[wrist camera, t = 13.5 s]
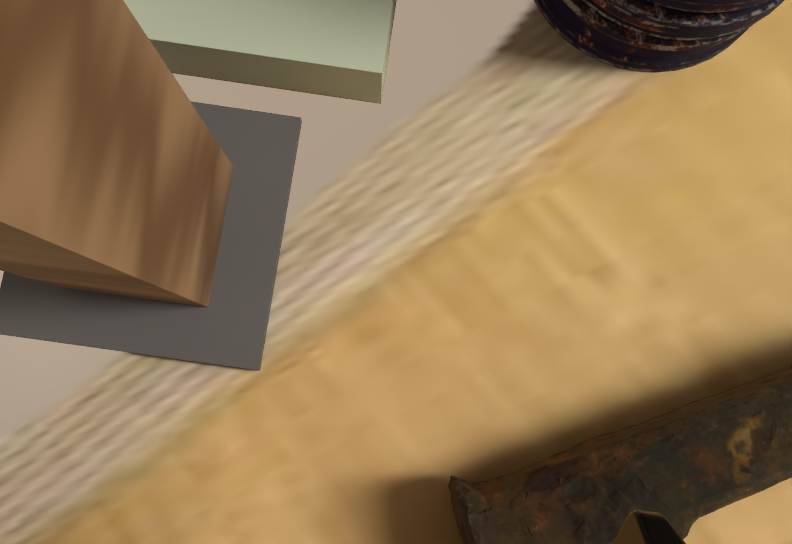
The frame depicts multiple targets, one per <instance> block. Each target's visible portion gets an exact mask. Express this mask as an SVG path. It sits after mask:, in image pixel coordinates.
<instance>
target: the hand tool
mask: <svg viewBox="0 0 792 544" xmlns="http://www.w3.org/2000/svg"><path fill="white" fill-rule="evenodd" d="M789 478H792V368H789V369H786V370H784V371H781V372H778V373H775V374H772V375H770V376H767V377H764V378H761V379H758V380H756V381H752V382H749V383H746V384H743V385H740V386H738V387H735V388H733V389H730V390H727V391H725V392H722V393H719V394H717V395H714V396H711V397H707V398H704V399H701V400H698V401H695V402H692V403H690V404H687V405H685V406H683V407H681V408H679V409H676V410H674V411H672V412H671V413H669V414H666V415H663V416H660V417H657V418H655V419H652V420H649V421H647V422H644V423H642V424H640V425H636V426H630V427H625V428H622V429H621V430H619V431H616V432H612V433H609V434H605V435H601V436H599V437H596V438H593V439H590V440H588V441H585V442H582V443H580V444H578V445H577V446H575V447H573V448H572V449H570V450H567V451H564V452H561V453H558V454H555V455H554V456H552V457H551V458H549V459H548V460H546V461H543V462H540V463H538V464H535V465H532V466H529V467H527V468H524V469H522V470H520V471H517V472H514V473H511V474H508V475H505V476H502V477H499V478H496V479H493V480H491V481H488V482H475V483H469V482H466V481H464V480H462V479H459V478H457V477H454V476H451V478H450V482H449V485H448V487H449V489H450V492H451V499H452V504H453V510H454V514H455V518H456V522H457V525H458V529H459V533H460V536H461V540H462V543H463V544H613V542H614V540H615V538H616V536H617V534H618V532H619V531H620V529H621V527H622V525H623V524H624V522H625V520H626V518H627V516H628V515H629V513H630V512H632V511H634V510H641V511H649V512H656V513H659V514H661V515H663V516H664V517H665V518H667V520H668V521H669V522H670V523H671V525H672V526H673V527H674V529H675V530H676V531H677V533H678V534H679V535H680V537H681V538H682V539H684V538H685V537H687V535H688V532H689V530H690V528H691V526H692V524H693V523H694V522H695V521H696V520H697V519H698V518H699V517H702V516H704V515H707V514H709V513H711V512H714V511H716V510H718V509H720V508H722V507H725V506H727V505H729V504H731V503H734V502H736V501H738V500H741V499H743V498H746V497H748V496H751V495H753V494H756V493H758V492H760V491H763V490H765V489H767V488H769V487H771V486H773V485H775V484H777V483H779V482H781V481H784V480H787V479H789Z"/></svg>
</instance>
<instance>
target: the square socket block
mask: <svg viewBox="0 0 792 544" xmlns="http://www.w3.org/2000/svg"><path fill="white" fill-rule="evenodd" d="M123 1H124V2H125V4H126V5H127V7H128V8H129V10H130V11H131V13H132V14H133V16H134V17H135V19H136V20H137V22H138V23H139V25H140V26H141V28H142V29H143V31H144V32H145V34H146V35H147V37H148V38H149V40H150V41H151V43H152V44H153V46H154V47H155V49H156V50H157V52H158V53H159V55H160V56H161V58H162V60H163V61H164V63H165V64H166V66H167V67H168V69H169V70H170V72H171V73H176V74H183V75H189V76H197V77H203V78H210V79H217V80H224V81H231V82H237V83H244V84H251V85H258V86H265V87H271V88H278V89H285V90H291V91H299V92H305V93H312V94H319V95H325V96H332V97H339V98H346V99H353V100H360V101H366V102H373V103H380V104H381V100H382V92H383V86H384V79H385V73H386V66H387V59H388V53H389V46H390V40H391V33H392V26H393V20H394V13H395V6H396V0H123Z"/></svg>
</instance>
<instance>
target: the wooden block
mask: <svg viewBox="0 0 792 544" xmlns="http://www.w3.org/2000/svg"><path fill="white" fill-rule="evenodd" d="M232 171H233V165H232V164H231V162H230V161H229V159H228V158H227V156H226V155H225V153H224V152H223V150H222V149H221V147H220V146H219V144H218V143H217V141H216V140H215V138H214V137H213V135H212V134H211V132H210V131H209V129H208V128H207V126H206V125H205V123H204V122H203V120H202V119H201V117H200V115H199V114H198V112H197V111H196V109H195V108H194V106H193V105H192V103H191V102H190V100H189V99H188V97H187V96H186V94H185V93H184V91H183V90H182V88H181V87H180V85H179V84H178V82H177V81H176V79H175V78H174V76H173V75H172V73H171V72H170V70H169V69H168V67H167V66H166V64H165V63H164V61H163V60H162V58H161V56H160V55H159V53H158V52H157V50H156V49H155V47H154V46H153V44H152V43H151V41H150V40H149V38H148V37H147V35H146V34H145V32H144V31H143V29H142V28H141V26H140V25H139V23H138V22H137V20H136V19H135V17H134V16H133V14H132V13H131V11H130V10H129V8H128V7H127V5H126V4H125V2H124V1H123V0H0V270H2V271H5V272H9V273H12V274H16V275H19V276H23V277H27V278H30V279H34V280H37V281H41V282H44V283H48V284H51V285H55V286H59V287H63V288H71V289H78V290H85V291H93V292H100V293H107V294H115V295H122V296H129V297H137V298H144V299H151V300H159V301H166V302H174V303H181V304H188V305H196V306H203V307H208V306H209V301H210V295H211V289H212V284H213V278H214V273H215V267H216V261H217V256H218V250H219V244H220V239H221V233H222V227H223V222H224V216H225V211H226V205H227V199H228V194H229V188H230V182H231V177H232Z"/></svg>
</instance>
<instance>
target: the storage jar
mask: <svg viewBox="0 0 792 544" xmlns="http://www.w3.org/2000/svg"><path fill="white" fill-rule="evenodd" d="M534 1H535V3H536V5H537V7H538V8H539V10H540V11H541V13H542V14H543V15H544V17H545V18H546V20H547V21H548V22H549V24H550V25H551V26H552V27H553V28H554V29H555V30H556V31H557V32H558V33H559V34H560V35H561V36H562V37H563V38H564V39H565V40H567V41H568V42H569V43H571V44H572V45H573V46H575V47H576V48H577V49H579V50H580V51H582V52H584V53H586V54H588V55H589V56H591V57H593V58H595V59H597V60H599V61H602V62H604V63H607V64H610V65H613V66H615V67H619V68H624V69H629V70H633V71H643V72H664V71H675V70H679V69H683V68H687V67H691V66H695V65H697V64H699V63H702V62H704V61H706V60H709V59H711V58H713V57H714V56H716V55H717V54H719V53H720V52H722V51H724V50H725V49H727V48H728V47H729V46H730V45H731V44H732V43H733V42H734V41H735V40H737V39H738V38H739V37H740V36H741V35H742V34H743V33H744V32H745V31H746V30H748V28H749V27H751V26H752V25H753V24H754V23H756V22H757V21H759V20H760V19H762V18H764V17H765V16H767V15H768V14H770V13H771V12H772V11H773V10H774V9H775V8H776V7H778V6H779V5H780V4H781V3H782V2H783V1H784V0H534Z"/></svg>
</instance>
